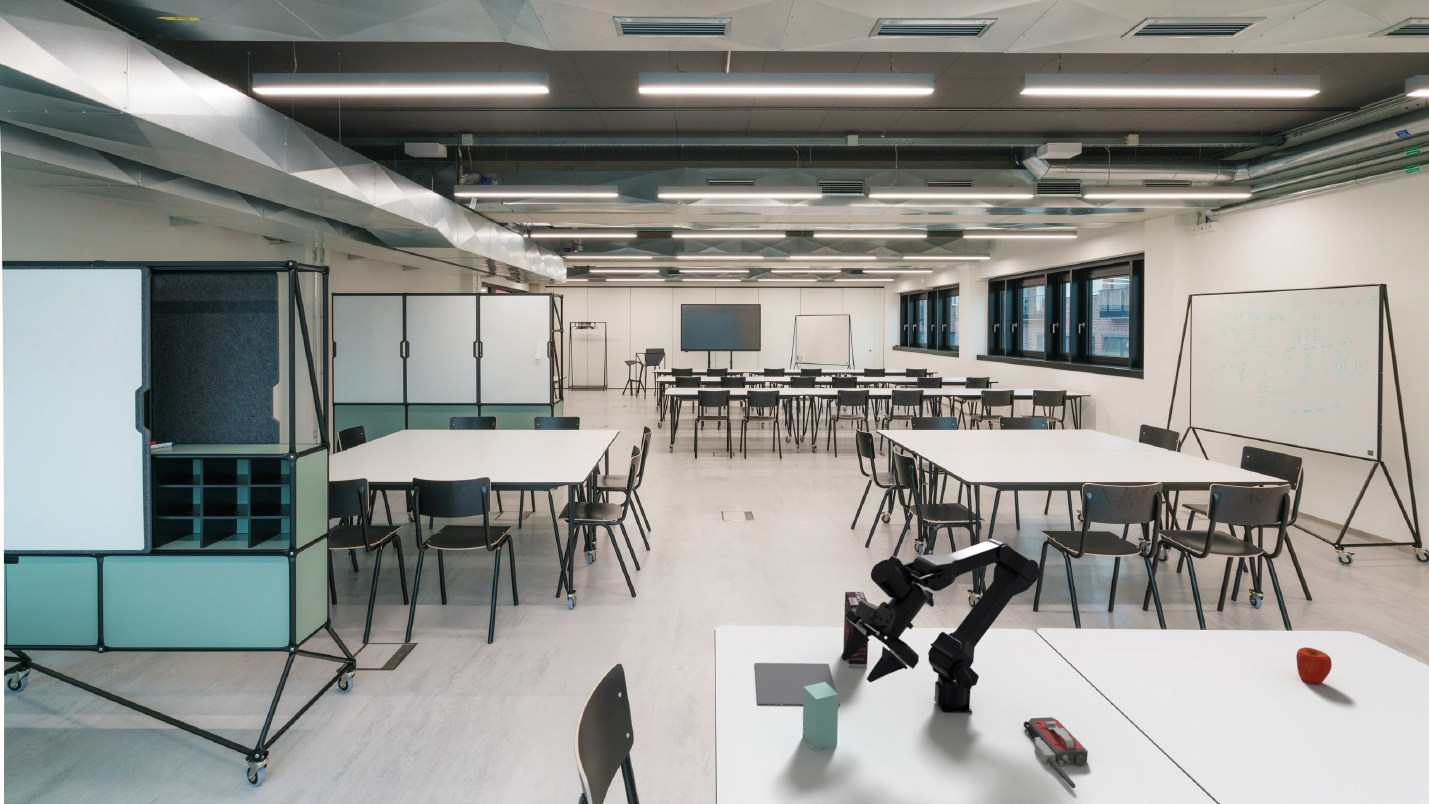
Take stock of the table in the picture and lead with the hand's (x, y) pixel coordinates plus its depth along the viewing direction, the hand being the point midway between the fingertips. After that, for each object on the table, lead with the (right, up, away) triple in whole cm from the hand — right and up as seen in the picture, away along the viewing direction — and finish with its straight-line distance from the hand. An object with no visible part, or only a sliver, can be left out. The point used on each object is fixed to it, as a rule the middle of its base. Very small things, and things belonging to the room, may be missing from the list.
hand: (855, 670), depth 146 cm
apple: (+111, -11, +22) cm, 114 cm away
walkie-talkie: (+39, -15, -6) cm, 42 cm away
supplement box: (+6, -9, +32) cm, 34 cm away
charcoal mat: (-10, -11, +20) cm, 25 cm away
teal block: (-7, -14, -1) cm, 16 cm away
